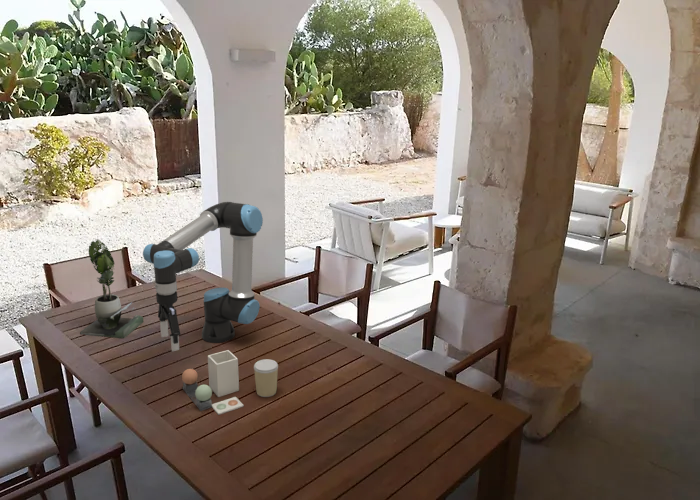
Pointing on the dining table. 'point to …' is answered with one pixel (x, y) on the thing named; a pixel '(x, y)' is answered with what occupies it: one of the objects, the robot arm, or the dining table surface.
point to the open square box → (223, 373)
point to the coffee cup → (266, 377)
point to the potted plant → (108, 300)
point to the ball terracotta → (189, 376)
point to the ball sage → (203, 392)
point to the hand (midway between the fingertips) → (170, 343)
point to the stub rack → (190, 391)
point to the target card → (227, 405)
